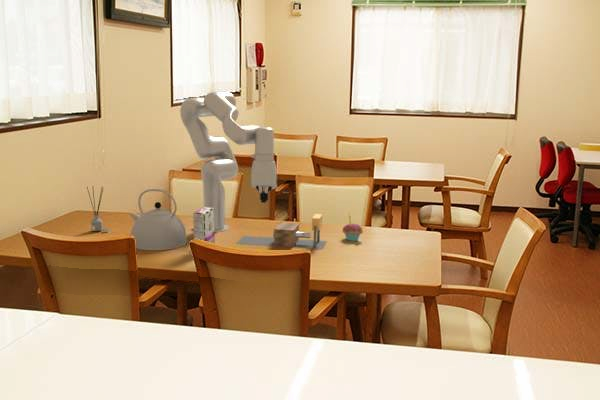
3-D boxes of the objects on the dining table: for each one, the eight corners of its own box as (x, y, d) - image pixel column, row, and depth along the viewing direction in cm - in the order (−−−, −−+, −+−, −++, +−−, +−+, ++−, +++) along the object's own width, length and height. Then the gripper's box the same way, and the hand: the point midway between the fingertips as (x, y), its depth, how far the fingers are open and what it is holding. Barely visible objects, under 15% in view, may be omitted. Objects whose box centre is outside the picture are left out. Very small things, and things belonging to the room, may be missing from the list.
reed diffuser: (84, 231, 285) (82, 186, 281) (94, 227, 291) (92, 183, 287) (104, 233, 282) (103, 188, 278) (114, 230, 288) (112, 185, 284)
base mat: (235, 245, 268) (235, 243, 268) (243, 237, 280) (243, 235, 280) (322, 250, 262) (322, 249, 262) (326, 242, 274) (327, 241, 274)
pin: (273, 240, 269) (273, 229, 268) (275, 237, 273) (275, 226, 273) (309, 242, 267) (309, 231, 266) (311, 239, 271) (311, 228, 270)
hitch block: (274, 245, 266) (274, 224, 264) (280, 238, 277) (280, 217, 275) (315, 248, 263) (316, 226, 261) (319, 241, 274) (320, 220, 273)
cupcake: (348, 243, 273) (349, 215, 271) (338, 238, 281) (339, 211, 278) (366, 241, 277) (367, 214, 275) (355, 236, 285) (356, 210, 282)
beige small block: (311, 230, 264) (312, 218, 263) (314, 225, 271) (315, 213, 270) (319, 230, 263) (319, 218, 262) (321, 226, 271) (322, 214, 270)
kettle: (114, 245, 264) (111, 190, 259) (146, 233, 284) (145, 182, 280) (167, 253, 255) (166, 196, 250) (196, 239, 276) (196, 187, 271)
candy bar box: (203, 246, 265) (202, 206, 262) (214, 247, 264) (214, 207, 261) (193, 253, 254) (192, 212, 251) (205, 254, 253) (205, 213, 250)
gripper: (244, 158, 263) (244, 202, 267) (280, 159, 260) (279, 204, 264) (248, 156, 270) (248, 199, 274) (284, 157, 268) (283, 201, 271)
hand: (264, 201), depth 269 cm, fingers closed
